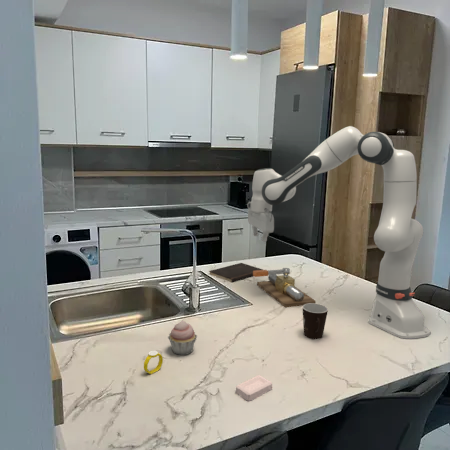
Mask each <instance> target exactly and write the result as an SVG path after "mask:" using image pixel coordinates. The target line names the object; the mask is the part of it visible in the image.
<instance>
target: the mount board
mask: <svg viewBox="0 0 450 450" xmlns="http://www.w3.org/2000/svg"><path fill="white" fill-rule="evenodd" d="M256 285H257V286H258V287H259V288H260V289H261V290H262V291H264V292H265V293H267V294H268V295H269V296H270V297H271V298H273V300H275V301H276V302H278V304H280V305H281V306H282V307H283V308H292V307H293V308H294V307H303V305H304V304H308V303H316V302H317V300H315V299H314V298H313V297H311V296H310V295H308V294H306V293H305V292H304V291H302V290H300V289H299V288H297V287H296V286H295V288H296V289H298V290H299V291H301V292H302V293H303V294H304V299H303V300H302V301H300V302H298V301H296V300H295V299H294V298H292V297H291V296H290V295H286V294H282V293H281V292H279V291H278V290H277V289H276V286H275V284H273V283H272V282H271V281H269V280H264V281H257V282H256ZM316 304H317V303H316Z"/></svg>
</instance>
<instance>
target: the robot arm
mask: <svg viewBox="0 0 450 450" xmlns="http://www.w3.org/2000/svg"><path fill="white" fill-rule="evenodd" d="M357 155H359V156H360V158H361V159H362V160H363V161H365V162H367V163H371V164H375V165H378V166H381V167H382V170H383V198H382V199H383V200H382V209H381V214H380V218H379V221H378V226H377V228H376V229H375V231H374V235H373V242H374V243H375V246H376V247H377V248H378V249H379V250H380V251H382V252H384V255H383V257H382V258H381V261H380V262H379V270H378V279H377V280H378V281H377V282H376V285H375V292H376V294H375V298H374V301H373V304H372V307H371V308H372V309H371V312H370V315H369V318H368V320H367V323H368V324H371V325H372V326H374V327H377V328H379V329H380V330H383V331H385V332H387V333H389V334H392V336H393V335H394V336H395V337H396V338H400V339H410V340H412V339H420V338H425V337H428V336H430V335H431V334H432V330H430V328H427V326H425V316H424V314H423V312H422V310H421V309H420V308H419V307H418V306H417V304H416V303H415V301H414V300H413V296H415V292H412V289H411V277H412V271H413V270H412V269H413V265H414V263H415V262H414V261H415V259H416V256H417V252H418V249H419V245H420V241H421V240H422V237H423V236H424V235H423V234H424V227H423V225H422V223H420V222H419V221H418V220H417V219H415V218H412V217H413V212H414V209H415V207H416V205H417V191H418V190H417V189H418V188H417V184H418V182H417V180H418V179H417V178H418V175H417V164H416V160H415V159H416V158H415V155H414V154H413V153H412V152H411V151H409V150H406V149H396V148H395V145H394V142H393V139H392V138H391V137H390V136H388V135H387V134H386V133H383V132H380V131H370V132H366V133H365V134H363V133H362V132H361V131H360V130H359V129H358V128H357V127H354V126H353V125H349V126H346V127H343V128H342V129H340V130H338V131H336V132H335V133H333V134H331V135H330V136H329V137H327V138H326V139H324V141H322V142H321V143H320V144H319V145H317V146H316V147H315V149H314V150H312V151H311V152H310V153H309V154H308V155H307V156H306V157H305V158H304V159H303V160H302V161H301V162H300V163H298V164H297V165H295V166H293V168H291V169H290V170H289V171H287V172H286V173H284V174H283V175H282V174H279V173H278V172H276V171H275V170H274V169H273V168H271V167H267V168H259V169H256V170H255V171H254V173H253V179H252V183H251V184H252V186H251V189H252V197H251V201H249V202H247V208H248V209H247V221H248V224H250V225H251V228H252V235H253V237H258V236H259V231H262V236H261V241H262V242H263V243H264V242H267V241H268V236H269V235H270V234H271V233H274V231H275V218H274V214H273V213H272V211H273V206H278V205H280V204H282V203H284V202H286V201H288V200H289V201H290V200H291V199H292V198H294V196H295V195H296V194H297V193H296V192H297V186H298V185H300V184H302V183H304V181H306V180H307V179H309V178H311V177H314V176H316V175H319V174H323V173H327V172H330V171H331V170H333V169H335V168H337V167H339V166H341V165H342V164H344V163H345V162H347V161H348V160H349V159H351V158H352V157H353V156H354V157H355V156H357ZM258 229H259V230H258Z"/></svg>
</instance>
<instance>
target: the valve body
mask: <svg viewBox="0 0 450 450" xmlns="http://www.w3.org/2000/svg"><path fill="white" fill-rule="evenodd" d="M267 279H268V281H271V282H272V283H273V284H275V286H276V289H277V290H278V291H279V292H281V293H282V294H286V295H290V296H291V297H292V298H294V299H295V300H296V301H298V302H300V301H302V300H303V299H304V294H303V293H302V292H303V291H302V290H301V291H302V292H301V291H299V290H300V289H299V288H298V289H299V290H298V289H296V288H297V287H296V286H295V285H296V279H295V278H294V277H292V276H290V274H288V275H285V274H280V275H278V274H274V275H268V276H267ZM295 287H296V288H295Z"/></svg>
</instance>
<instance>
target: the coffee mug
mask: <svg viewBox="0 0 450 450" xmlns="http://www.w3.org/2000/svg"><path fill="white" fill-rule="evenodd" d="M328 311H329V307H327V306H326V305H324V304H320V303H308V304H304V305H303V306H302V324H303V336H304V337H305V338H307V339H309V340H310V339H311V340H320V339H322V338H323V336H324V331H325V325H326V322H327V316H328Z"/></svg>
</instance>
